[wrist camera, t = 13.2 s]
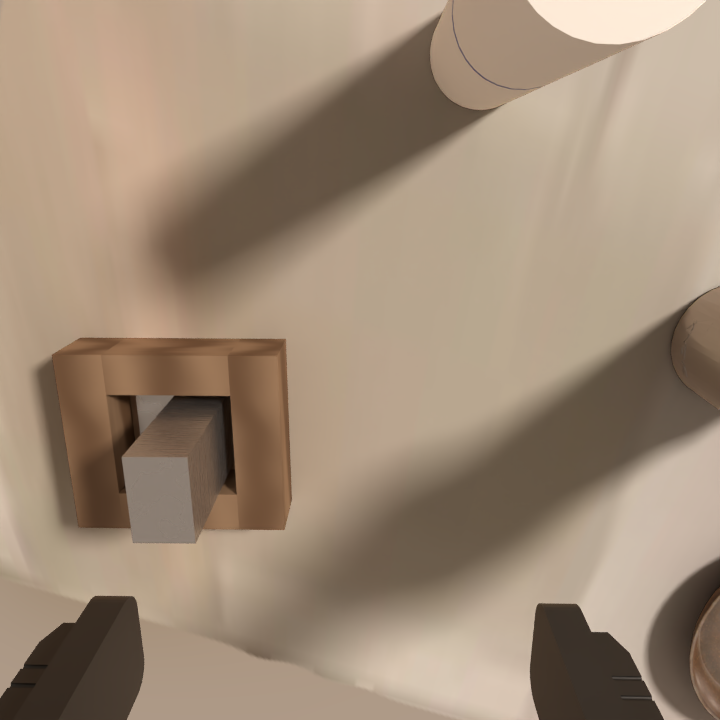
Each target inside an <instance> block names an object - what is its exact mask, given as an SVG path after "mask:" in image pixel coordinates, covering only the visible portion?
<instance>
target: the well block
mask: <svg viewBox="0 0 720 720" xmlns="http://www.w3.org/2000/svg"><path fill="white" fill-rule="evenodd" d="M52 359H53V365H54V372H55V378H56V385H57V391H58V397H59V404H60V410H61V417H62V423H63V430H64V436H65V442H66V449H67V455H68V462H69V468H70V475H71V481H72V487H73V494H74V500H75V507H76V513H77V520H78V526H79V527H85V528H131V525H130V517H129V509H128V502H127V494H126V487H125V479H124V472H123V464H122V456H123V455H124V454H125V452H126V451H127V450H128V449H129V448H130V447H131V446H132V444H133V443H134V442H135V441H136V440H137V439H138V437H139V436H140V428H139V419H138V411H137V403H136V395H175V396H230V400H231V415H232V430H233V445H234V460H235V461H234V463H233V465H232V467H231V469H230V471H229V473H228V476H227V478H226V480H225V482H224V484H223V486H222V488H221V491H220V493H219V495H218V497H217V499H216V501H215V503H214V505H213V508H212V510H211V512H210V514H209V516H208V518H207V520H206V523H205V525H204V527H203V529H253V530H284V529H285V525H286V521H287V517H288V513H289V509H290V505H291V501H292V494H291V468H290V441H289V414H288V387H287V360H286V339H178V338H79V339H78V340H76V341H74V342H73V343H71V344H69V345H68V346H66V347H64V348H63V349H61V350H59V351H58V352H56V353H54V354H53V355H52Z"/></svg>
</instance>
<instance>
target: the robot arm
mask: <svg viewBox="0 0 720 720" xmlns="http://www.w3.org/2000/svg"><path fill="white" fill-rule="evenodd" d="M671 357H672V362H673V366H674V368H675V371H676V373H677V375H678V377H679V378H680V379H681V380H682V382H683V383H684V384H685V385H686V386H687V387H689V388H690V389H691V390H693V391H694V392H695V393H697V394H698V395H699V396H701V397H702V398H704V399H705V400H706V401H708V402H709V403H710V404H712V405H713V406H714V407H715V408H717V409H718V410H720V287H718V288H716V289H713V290H711V291H709V292H708V293H706V294H704V295H703V296H701V297H700V298H699V299H697V300H696V301H695V302H694V303H693V304H692V305H691V306H690V307H689V308H688V309H687V310H686V312H685V313H684V314H683V316H682V317H681V318H680V320H679V322H678V324H677V326H676V328H675V331H674V335H673V339H672V344H671ZM143 672H144V654H143V647H142V638H141V630H140V623H139V615H138V607H137V602H136V600H135V598H134V597H132V596H95V597H93V598H92V599H91V600H90V602H89V603H88V605H87V606H86V608H85V609H84V611H83V612H82V614H81V615H80V617H79V618H78V620H77V622H76V623H63V624H61V625H60V626H59V627H58V628H56V629H55V630H54V631H53V632H51V633H50V634H49V635H48V636H46V637H45V638H44V639H43V640H41V641H40V642H39V644H38V645H37V646H36V648H35V649H34V651H33V652H32V654H31V655H30V656H29V658H28V659H27V661H26V662H25V664H24V668H23V669H20V671H19V672H18V674H17V675H16V676H15V678H14V679H13V681H12V682H11V687H10V688H7V689H6V691H5V692H4V694H3V695H2V696H1V698H0V720H127V717H128V715H129V713H130V711H131V708H132V706H133V704H134V702H135V699H136V697H137V695H138V693H139V690H140V686H141V683H142V678H143ZM530 681H531V690H532V696H533V700H534V704H535V707H536V711H537V714H538V717H539V720H664V719H663V717H662V715H661V713H660V711H659V709H658V707H657V705H656V703H655V701H652V696H651V694H650V692H649V690H648V688H647V686H646V684H645V682H644V681H642V679H641V675H640V673H639V671H638V669H637V667H636V665H635V663H634V661H633V659H632V657H631V655H630V653H629V652H628V651H627V650H626V649H625V648H624V647H623V646H622V645H620V644H619V643H618V642H617V641H616V640H615V639H614V638H613V637H612V636H611V635H610V634H609V633H608V632H591V630H590V628H589V626H588V624H587V622H586V620H585V617H584V615H583V613H582V611H581V609H580V607H579V606H578V605H577V604H542V603H539V604H538V605H537V607H536V613H535V622H534V632H533V642H532V652H531V662H530Z"/></svg>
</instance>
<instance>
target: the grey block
mask: <svg viewBox="0 0 720 720" xmlns="http://www.w3.org/2000/svg"><path fill="white" fill-rule="evenodd" d="M136 403H137V411H138V419H139V428H140V436H139V437H138V439H137V440H136V441H135V442H134V443H133V444H132V446H131V447H130V448H129V449H128V450H127V451H126V452H125V454H124V455H123V456H122V464H123V472H124V479H125V487H126V494H127V502H128V509H129V517H130V525H131V532H132V540H133V543H196V542H197V540H198V537H199V535H200V533H201V531H202V529H203V527H204V525H205V523H206V520H207V518H208V516H209V514H210V512H211V510H212V508H213V505H214V503H215V501H216V499H217V497H218V495H219V493H220V491H221V488H222V486H223V484H224V482H225V480H226V478H227V476H228V473H229V471H230V469H231V467H232V465H233V463H234V461H235V460H234V445H233V430H232V415H231V400H230V396H175V395H136Z"/></svg>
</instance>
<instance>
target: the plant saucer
mask: <svg viewBox="0 0 720 720" xmlns="http://www.w3.org/2000/svg"><path fill="white" fill-rule="evenodd" d="M690 675H691V681H692V684H693V687H694V690H695V692H696V695H697V697H698V698H699V700H700V702H701V703H702V705H703V706H704V707H705V709H706V710H707V711H708V712H709V713H710V714H711V715H712V716H713V717H714V718H715V719H716V720H720V587H719V588H718V589H717V590H716V591H715V592H714V594H713V595H712V596H711V598H710V599H709V601H708V602H707V603H706V605H705V607H704V609H703V610H702V612H701V614H700V616H699V619H698V621H697V624H696V626H695V630H694V633H693V637H692V641H691V647H690Z"/></svg>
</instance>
